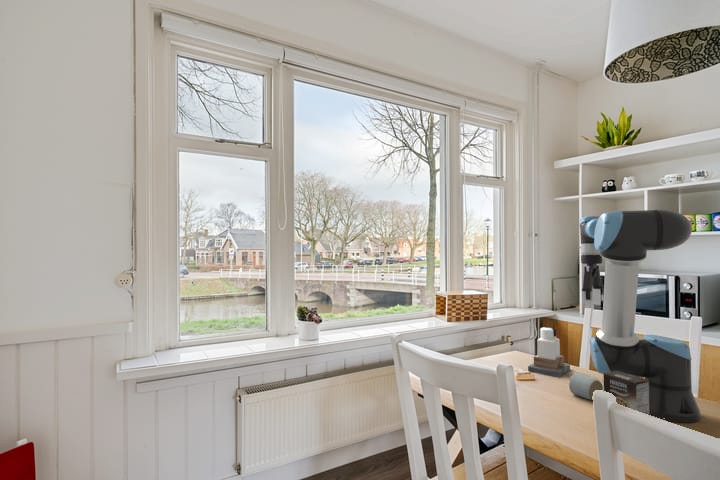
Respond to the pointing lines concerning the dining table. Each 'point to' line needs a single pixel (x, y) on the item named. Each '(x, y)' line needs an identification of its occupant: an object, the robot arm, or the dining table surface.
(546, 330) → the medicine bottle
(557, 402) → the dining table surface
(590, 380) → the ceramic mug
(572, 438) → the dining table surface
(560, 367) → the pedestal stand
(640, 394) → the coffee box
